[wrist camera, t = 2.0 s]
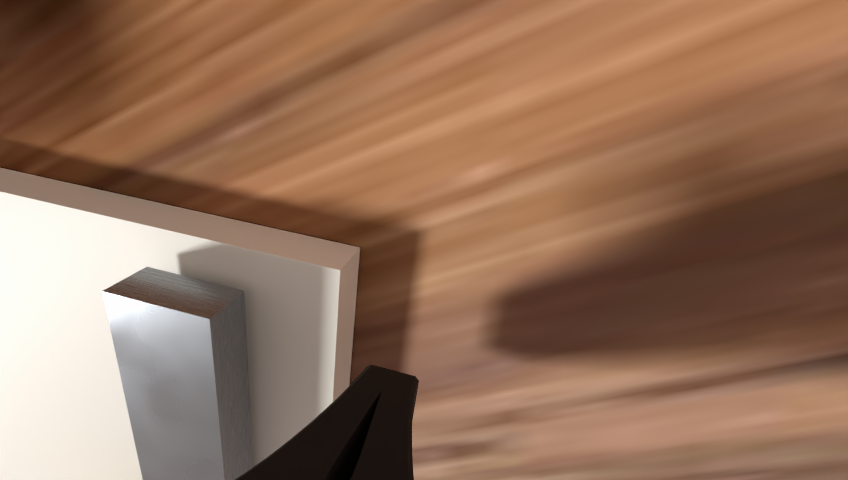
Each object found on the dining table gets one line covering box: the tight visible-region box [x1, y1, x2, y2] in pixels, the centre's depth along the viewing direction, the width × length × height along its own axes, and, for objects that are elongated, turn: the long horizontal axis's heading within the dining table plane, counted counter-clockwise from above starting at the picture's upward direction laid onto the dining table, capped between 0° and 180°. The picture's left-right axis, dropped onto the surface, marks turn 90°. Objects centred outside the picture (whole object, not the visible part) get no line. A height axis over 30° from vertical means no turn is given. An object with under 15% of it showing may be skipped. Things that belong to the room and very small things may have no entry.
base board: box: [0, 168, 360, 480], centre depth 17 cm, size 18×16×2 cm
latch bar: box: [102, 267, 253, 480], centre depth 13 cm, size 12×3×2 cm, turn 173°
